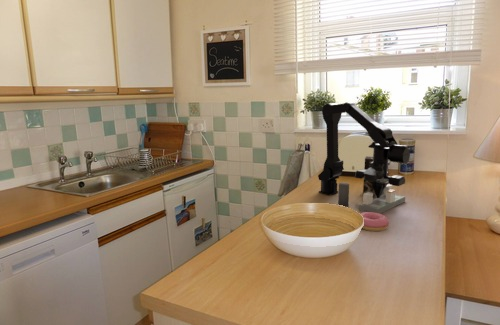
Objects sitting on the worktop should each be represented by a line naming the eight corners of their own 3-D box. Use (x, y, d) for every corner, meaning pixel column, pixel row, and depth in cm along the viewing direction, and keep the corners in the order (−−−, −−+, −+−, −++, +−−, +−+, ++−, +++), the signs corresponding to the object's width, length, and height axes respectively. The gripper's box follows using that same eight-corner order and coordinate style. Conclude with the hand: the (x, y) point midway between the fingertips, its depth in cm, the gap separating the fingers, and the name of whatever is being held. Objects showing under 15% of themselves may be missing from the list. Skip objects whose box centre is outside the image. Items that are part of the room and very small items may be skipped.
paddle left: (362, 203, 142) (363, 193, 141) (367, 201, 144) (368, 191, 143) (367, 204, 140) (368, 194, 140) (372, 202, 143) (373, 192, 142)
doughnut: (389, 234, 119) (390, 222, 118) (354, 231, 122) (354, 219, 121) (388, 222, 129) (388, 211, 128) (355, 219, 132) (356, 208, 131)
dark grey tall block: (336, 205, 148) (336, 184, 146) (341, 203, 150) (342, 182, 148) (344, 207, 145) (345, 185, 143) (350, 205, 147) (351, 183, 145)
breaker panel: (358, 209, 142) (358, 204, 142) (386, 197, 157) (386, 192, 156) (377, 214, 137) (378, 209, 136) (404, 201, 151) (405, 196, 151)
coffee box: (362, 194, 162) (364, 158, 159) (363, 190, 168) (365, 155, 165) (384, 196, 159) (386, 159, 155) (385, 192, 164) (387, 157, 161)
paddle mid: (385, 202, 144) (386, 191, 143) (389, 200, 146) (390, 189, 145) (390, 203, 142) (390, 192, 141) (394, 201, 144) (395, 190, 144)
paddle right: (383, 195, 152) (384, 185, 152) (387, 193, 155) (388, 184, 154) (388, 196, 151) (388, 186, 150) (392, 194, 153) (392, 185, 153)
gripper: (348, 159, 146) (346, 197, 149) (393, 166, 132) (390, 208, 136) (363, 155, 153) (361, 191, 156) (407, 162, 140) (404, 201, 143)
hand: (377, 197), depth 148 cm, fingers closed
